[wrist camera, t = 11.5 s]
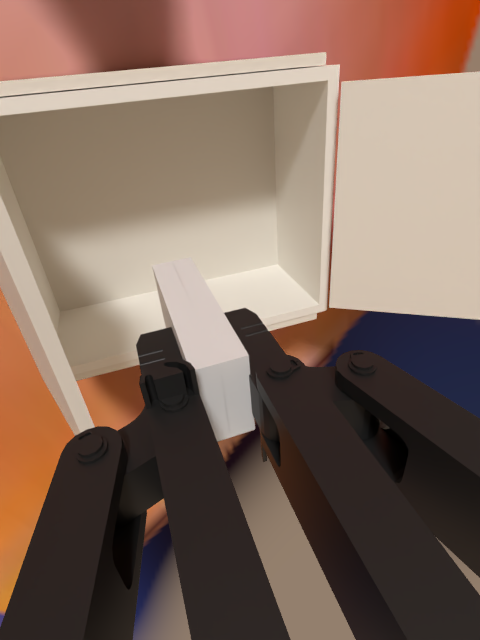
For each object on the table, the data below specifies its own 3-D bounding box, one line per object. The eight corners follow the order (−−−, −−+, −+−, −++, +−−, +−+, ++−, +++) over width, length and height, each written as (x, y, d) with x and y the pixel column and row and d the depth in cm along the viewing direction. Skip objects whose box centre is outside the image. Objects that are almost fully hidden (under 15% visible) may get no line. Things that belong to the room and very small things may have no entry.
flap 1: (-20, 146, 9) (-44, 149, 9) (116, 480, 16) (104, 488, 16) (-59, 125, 15) (-74, 127, 15) (52, 375, 22) (43, 379, 22)
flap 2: (480, 319, 23) (479, 315, 24) (559, 66, 16) (555, 66, 17) (329, 307, 26) (329, 303, 26) (341, 82, 19) (342, 81, 19)
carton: (57, 322, 29) (49, 389, 23) (-38, 85, 21) (-90, 89, 15) (281, 272, 33) (326, 317, 27) (277, 57, 25) (340, 50, 19)
